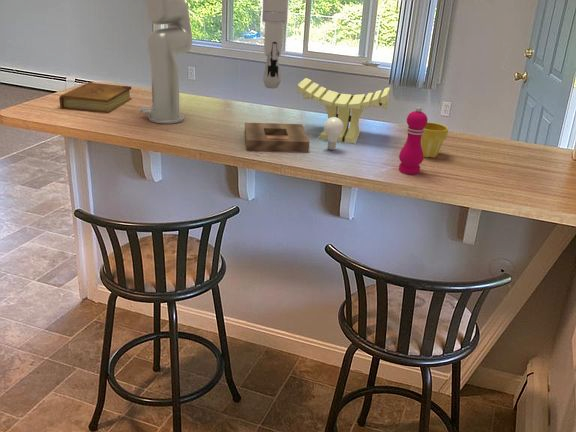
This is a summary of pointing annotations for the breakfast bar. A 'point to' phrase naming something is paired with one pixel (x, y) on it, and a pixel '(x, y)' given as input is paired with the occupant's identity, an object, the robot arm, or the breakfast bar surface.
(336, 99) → the slatted curved stool
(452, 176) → the breakfast bar surface
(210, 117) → the breakfast bar surface
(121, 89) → the diary
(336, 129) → the lightbulb
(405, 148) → the pepper mill
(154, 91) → the robot arm
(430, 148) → the plant pot
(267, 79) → the salt shaker
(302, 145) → the socket block
